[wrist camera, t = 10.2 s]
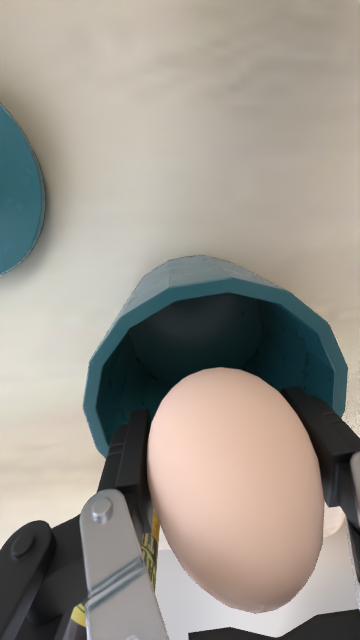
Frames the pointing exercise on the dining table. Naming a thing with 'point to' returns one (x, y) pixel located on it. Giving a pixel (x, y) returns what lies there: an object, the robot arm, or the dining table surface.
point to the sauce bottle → (77, 625)
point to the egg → (236, 488)
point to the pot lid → (18, 194)
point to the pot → (207, 341)
